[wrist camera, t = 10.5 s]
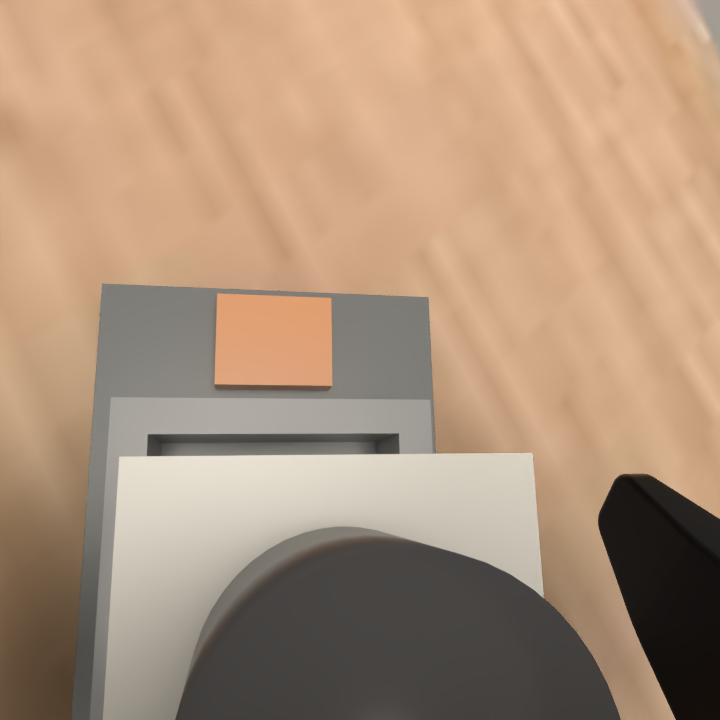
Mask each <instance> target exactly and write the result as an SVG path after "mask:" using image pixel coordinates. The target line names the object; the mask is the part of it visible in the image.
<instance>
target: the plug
mask: <svg viewBox="0 0 720 720" xmlns="http://www.w3.org/2000/svg"><path fill="white" fill-rule="evenodd" d="M103 720H620V716H619V713H618V710H617V708H616V705H615V702H614V700H613V697H612V695H611V692H610V689H609V687H608V684H607V682H606V680H605V679H604V677H603V675H602V673H601V671H600V669H599V667H598V665H597V663H596V661H595V659H594V658H593V656H592V654H591V653H590V652H589V650H588V649H587V647H586V646H585V644H584V643H583V641H582V640H581V638H580V637H579V635H578V634H577V633H576V631H575V630H574V629H573V628H572V627H571V626H570V624H569V623H568V622H567V621H566V620H565V619H564V618H563V616H562V615H561V614H560V613H559V612H558V611H557V610H556V609H555V608H554V607H553V606H552V605H551V604H550V603H548V602H547V601H546V600H545V599H544V593H543V580H542V568H541V555H540V542H539V530H538V517H537V504H536V491H535V479H534V466H533V453H462V454H350V455H237V456H125V457H119V469H118V485H117V501H116V517H115V533H114V549H113V565H112V580H111V596H110V612H109V628H108V644H107V660H106V676H105V692H104V708H103Z"/></svg>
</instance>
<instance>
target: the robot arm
mask: <svg viewBox="0 0 720 720" xmlns="http://www.w3.org/2000/svg"><path fill="white" fill-rule="evenodd" d="M598 525H599V530H600V534H601V536H602V539H603V542H604V545H605V548H606V551H607V554H608V556H609V559H610V562H611V565H612V568H613V571H614V573H615V576H616V579H617V582H618V585H619V588H620V591H621V593H622V596H623V599H624V602H625V605H626V608H627V611H628V613H629V616H630V619H631V621H632V624H633V626H634V629H635V631H636V634H637V636H638V638H639V641H640V643H641V645H642V648H643V650H644V652H645V654H646V656H647V658H648V661H649V663H650V665H651V667H652V669H653V671H654V674H655V676H656V678H657V680H658V682H659V684H660V687H661V689H662V691H663V693H664V695H665V697H666V700H667V702H668V704H669V706H670V708H671V710H672V713H673V715H674V717H675V719H676V720H720V519H719V518H717V517H716V516H714V515H712V514H711V513H709V512H708V511H706V510H705V509H703V508H701V507H700V506H698V505H697V504H695V503H693V502H692V501H690V500H689V499H687V498H686V497H684V496H682V495H681V494H679V493H678V492H676V491H675V490H673V489H671V488H670V487H668V486H667V485H665V484H663V483H662V482H660V481H659V480H657V479H656V478H654V477H652V476H650V475H648V474H622V475H620V476H618V477H617V478H616V479H615V481H614V483H613V485H612V487H611V489H610V491H609V493H608V495H607V497H606V500H605V502H604V504H603V506H602V508H601V510H600V513H599V518H598Z"/></svg>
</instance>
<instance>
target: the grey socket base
mask: <svg viewBox="0 0 720 720" xmlns="http://www.w3.org/2000/svg"><path fill="white" fill-rule="evenodd" d="M350 454H436V449H435V428H434V407H433V385H432V364H431V342H430V321H429V300H428V297H407V296H383V295H359V294H335V293H312V292H288V291H264V290H240V289H216V288H192V287H168V286H144V285H120V284H102V294H101V308H100V322H99V336H98V350H97V364H96V378H95V392H94V406H93V420H92V434H91V448H90V462H89V476H88V490H87V504H86V518H85V532H84V546H83V560H82V574H81V588H80V602H79V617H78V631H77V645H76V659H75V673H74V687H73V701H72V715H71V720H103V708H104V692H105V676H106V660H107V644H108V628H109V612H110V596H111V580H112V565H113V549H114V533H115V517H116V501H117V485H118V469H119V457H125V456H237V455H350Z"/></svg>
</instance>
